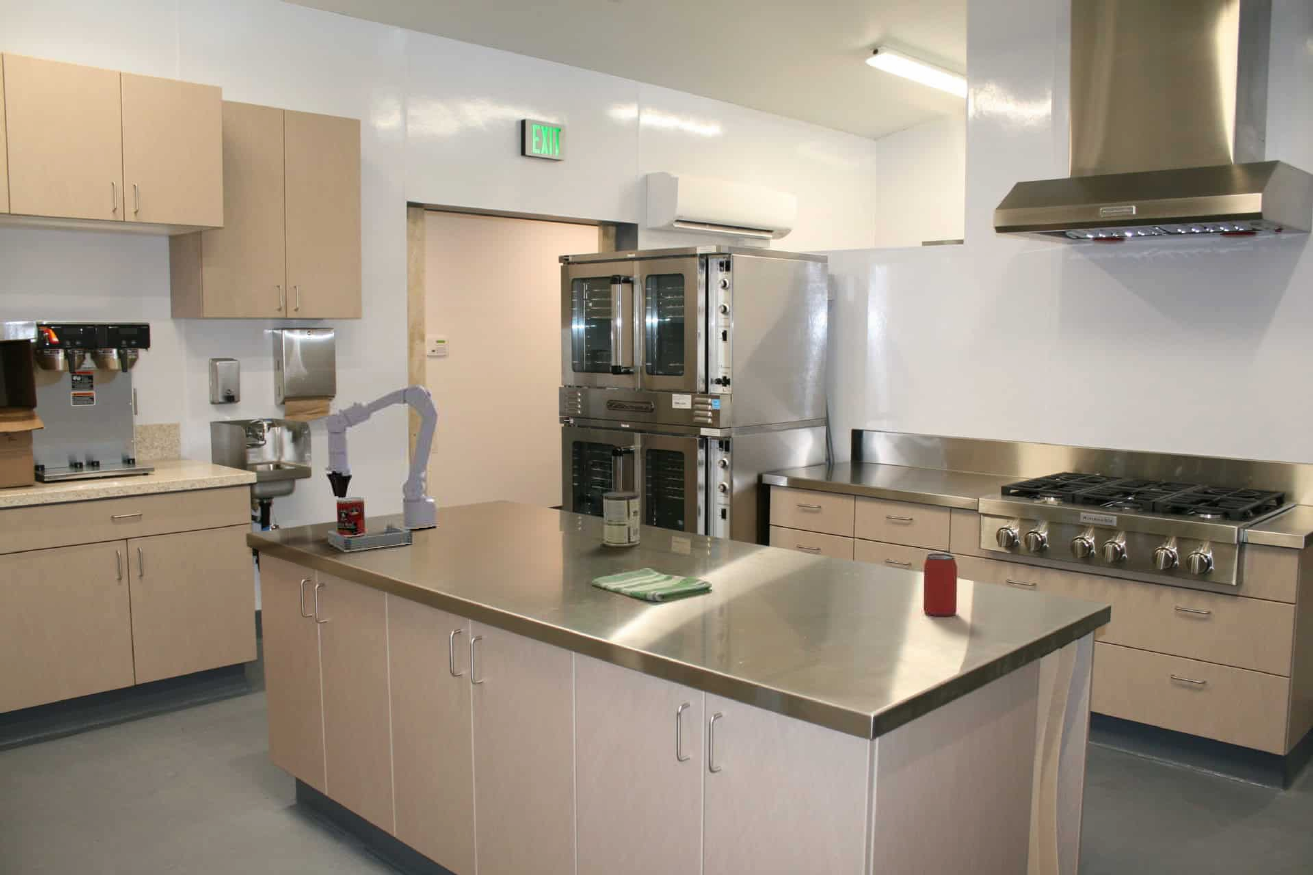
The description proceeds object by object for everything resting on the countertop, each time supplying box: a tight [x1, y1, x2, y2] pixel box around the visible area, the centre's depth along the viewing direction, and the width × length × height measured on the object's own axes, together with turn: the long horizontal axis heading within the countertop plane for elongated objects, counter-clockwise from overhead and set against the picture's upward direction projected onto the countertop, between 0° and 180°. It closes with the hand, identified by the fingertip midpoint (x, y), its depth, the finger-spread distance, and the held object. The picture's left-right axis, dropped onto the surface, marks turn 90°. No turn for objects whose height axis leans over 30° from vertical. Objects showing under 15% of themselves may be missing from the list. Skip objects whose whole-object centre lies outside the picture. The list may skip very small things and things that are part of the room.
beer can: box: [923, 552, 958, 618], centre depth 208 cm, size 7×7×12 cm
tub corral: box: [326, 523, 413, 550], centre depth 288 cm, size 19×16×4 cm
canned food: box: [336, 496, 366, 535], centre depth 301 cm, size 8×8×11 cm
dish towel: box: [590, 566, 713, 603], centre depth 233 cm, size 18×23×3 cm
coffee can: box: [602, 490, 641, 547], centre depth 285 cm, size 10×10×14 cm
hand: (340, 496), depth 309 cm, fingers open, 3 cm apart
